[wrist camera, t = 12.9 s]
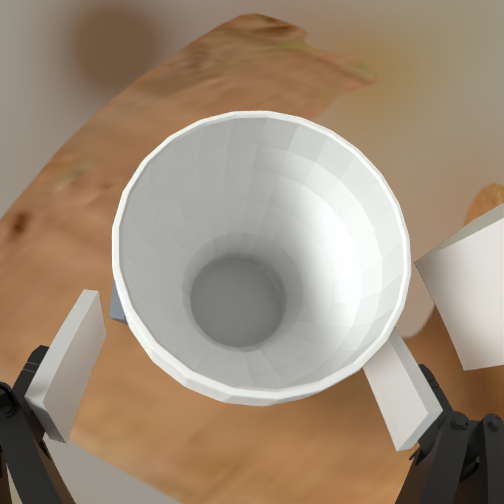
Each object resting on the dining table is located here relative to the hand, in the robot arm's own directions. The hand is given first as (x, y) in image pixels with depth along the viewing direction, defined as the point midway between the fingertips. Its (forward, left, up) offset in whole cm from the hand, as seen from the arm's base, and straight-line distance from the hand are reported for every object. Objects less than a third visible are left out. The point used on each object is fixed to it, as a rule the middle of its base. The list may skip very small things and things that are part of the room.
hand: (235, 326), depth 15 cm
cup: (0, -2, -9) cm, 9 cm away
